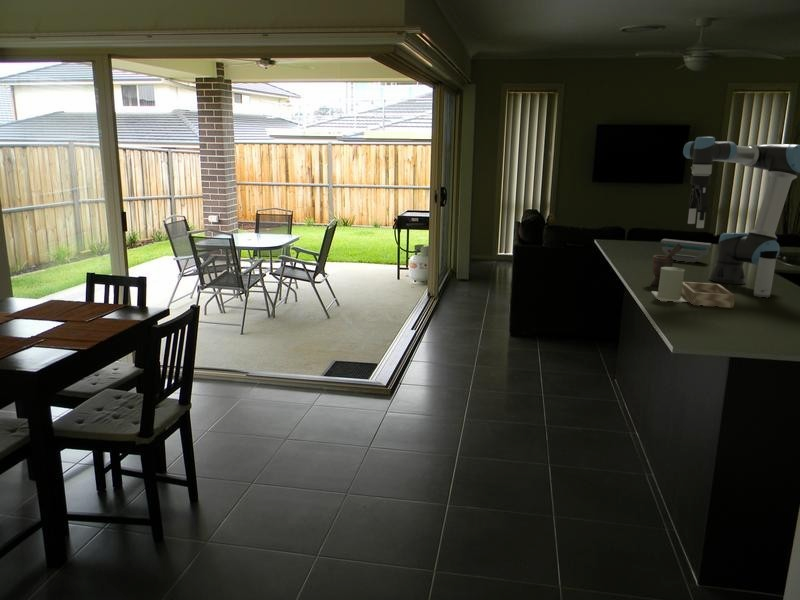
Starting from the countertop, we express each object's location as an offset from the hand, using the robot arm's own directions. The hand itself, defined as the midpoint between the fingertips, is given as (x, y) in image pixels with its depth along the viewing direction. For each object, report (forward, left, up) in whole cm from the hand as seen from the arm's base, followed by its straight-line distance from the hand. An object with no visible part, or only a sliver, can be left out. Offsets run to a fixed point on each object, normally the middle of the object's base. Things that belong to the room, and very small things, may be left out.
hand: (695, 225), depth 275 cm
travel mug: (-31, 0, -29) cm, 42 cm away
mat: (+10, +16, -29) cm, 34 cm away
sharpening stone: (-19, -88, -29) cm, 95 cm away
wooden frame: (-4, +16, -29) cm, 33 cm away
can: (+10, +16, -28) cm, 34 cm away
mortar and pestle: (+7, -10, -29) cm, 31 cm away
